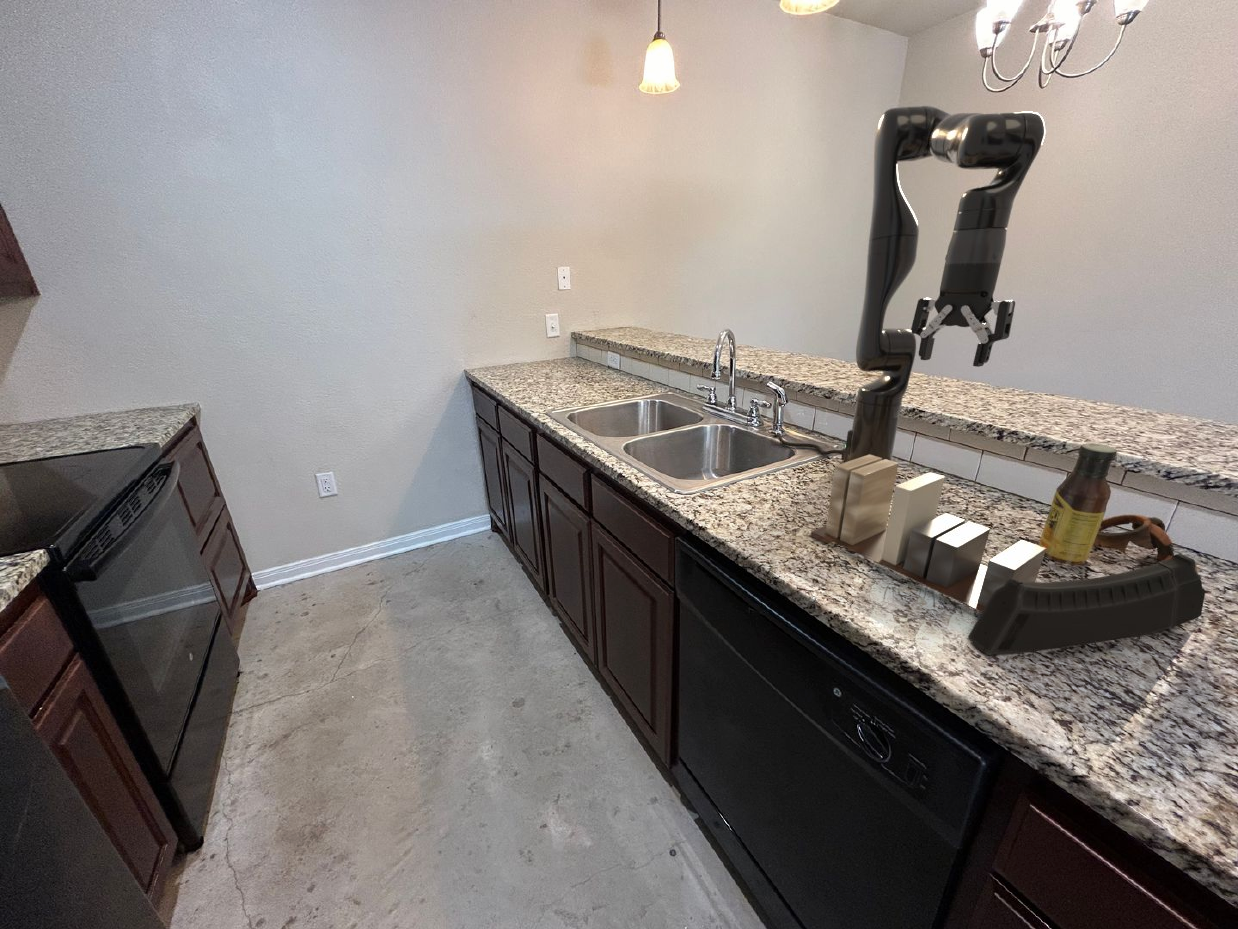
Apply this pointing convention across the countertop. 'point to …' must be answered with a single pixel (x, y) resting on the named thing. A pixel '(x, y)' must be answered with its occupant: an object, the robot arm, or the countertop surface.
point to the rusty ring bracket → (1136, 535)
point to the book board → (920, 537)
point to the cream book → (910, 513)
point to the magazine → (1089, 608)
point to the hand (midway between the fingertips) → (950, 362)
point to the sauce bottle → (1079, 507)
